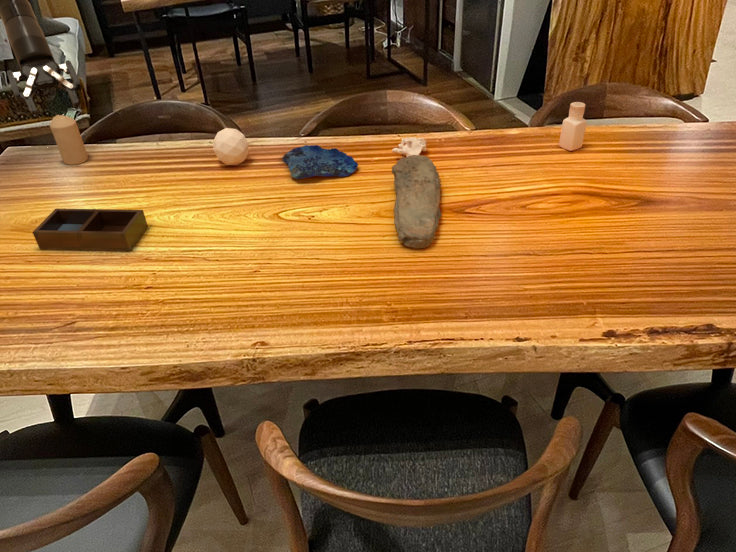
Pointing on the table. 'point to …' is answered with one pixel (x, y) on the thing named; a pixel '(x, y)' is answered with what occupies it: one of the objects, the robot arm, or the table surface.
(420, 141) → the pelvis model
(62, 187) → the table surface
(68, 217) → the box
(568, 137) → the pepper shaker
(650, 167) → the table surface
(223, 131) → the geometric ball
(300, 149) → the rock
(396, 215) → the long grey stone
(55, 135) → the candle
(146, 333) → the table surface
